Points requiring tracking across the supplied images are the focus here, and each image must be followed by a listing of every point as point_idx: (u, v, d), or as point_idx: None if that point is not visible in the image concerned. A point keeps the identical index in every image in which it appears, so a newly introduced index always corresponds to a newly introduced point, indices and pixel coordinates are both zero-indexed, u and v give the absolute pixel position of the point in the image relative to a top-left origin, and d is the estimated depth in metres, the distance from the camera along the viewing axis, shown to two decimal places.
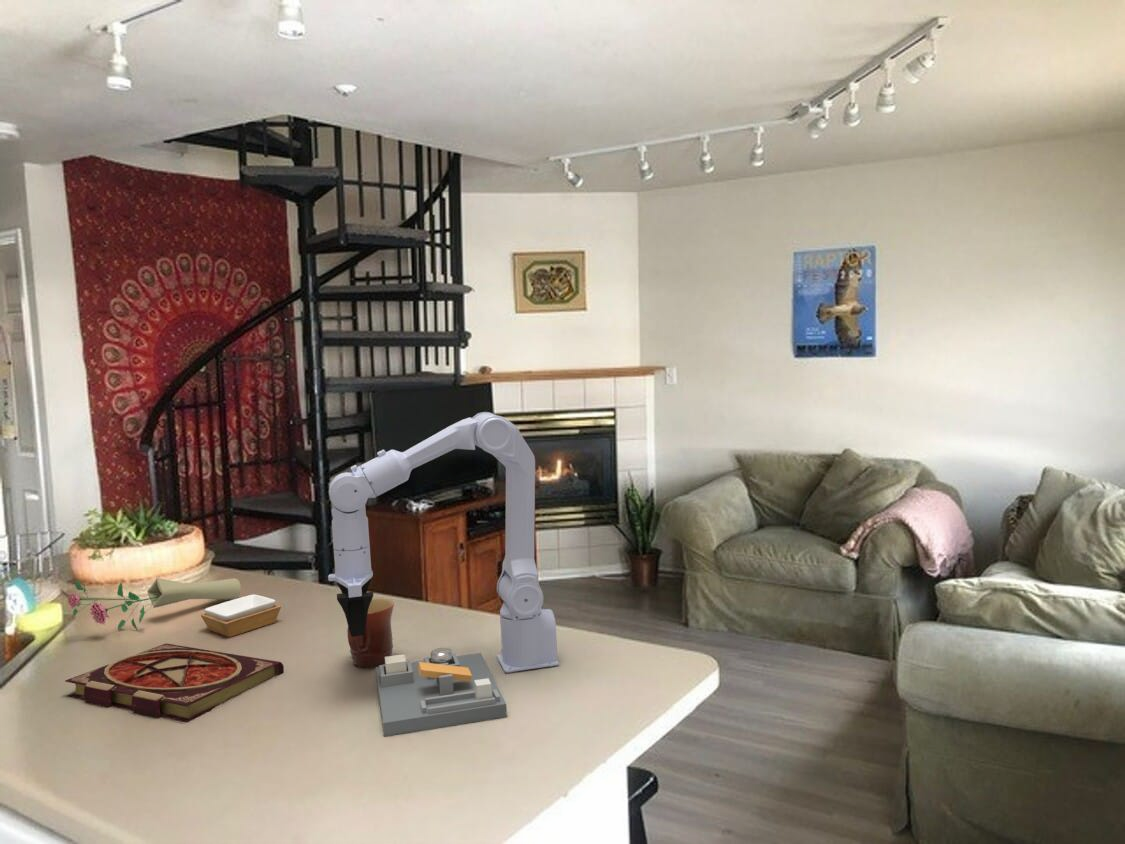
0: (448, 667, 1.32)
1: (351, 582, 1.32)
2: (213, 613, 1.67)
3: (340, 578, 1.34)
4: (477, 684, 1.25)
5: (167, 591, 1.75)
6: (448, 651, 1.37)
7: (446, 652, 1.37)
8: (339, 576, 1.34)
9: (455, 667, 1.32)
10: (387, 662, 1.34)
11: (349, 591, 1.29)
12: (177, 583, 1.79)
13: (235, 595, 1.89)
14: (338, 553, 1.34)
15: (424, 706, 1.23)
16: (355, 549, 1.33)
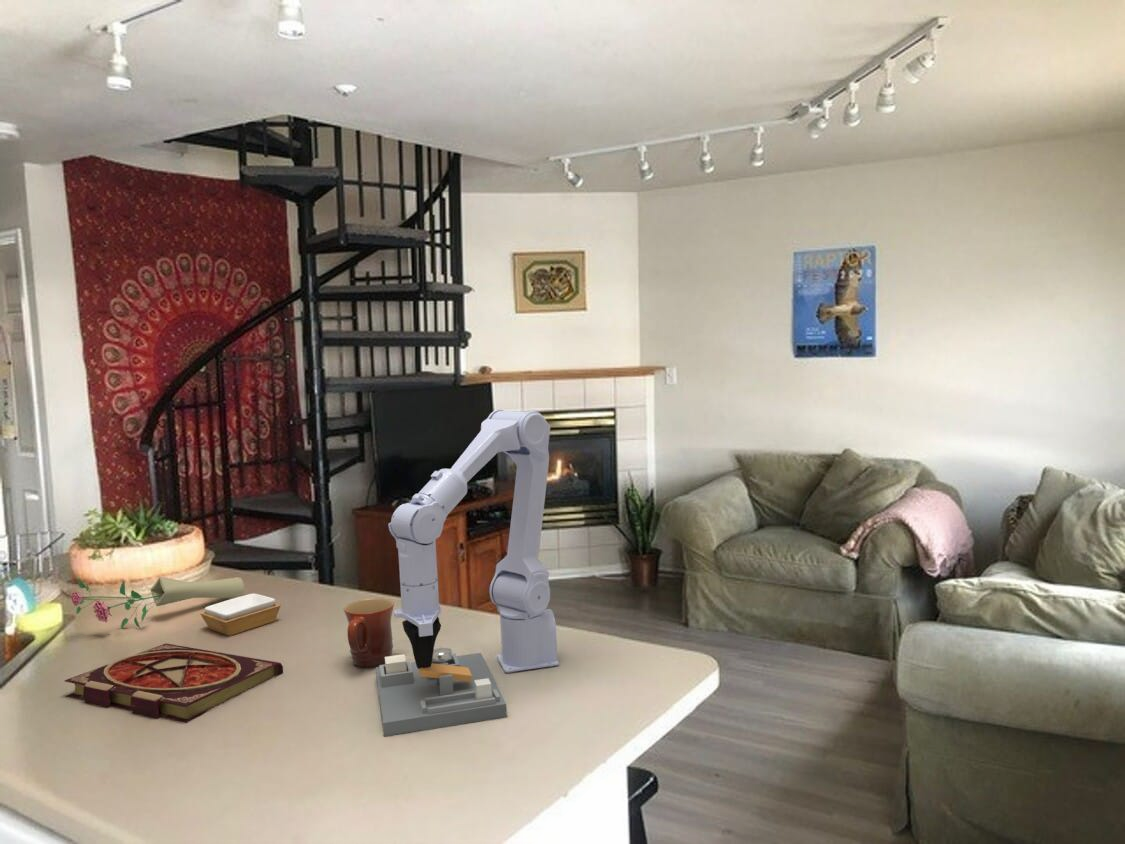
0: (448, 667, 1.32)
1: (420, 620, 1.24)
2: (213, 612, 1.67)
3: (408, 615, 1.26)
4: (477, 684, 1.25)
5: (170, 590, 1.76)
6: (448, 651, 1.37)
7: (446, 652, 1.37)
8: (406, 612, 1.27)
9: (455, 667, 1.32)
10: (387, 662, 1.34)
11: (420, 630, 1.22)
12: (180, 582, 1.80)
13: (238, 594, 1.90)
14: (406, 588, 1.26)
15: (424, 706, 1.23)
16: (424, 584, 1.26)
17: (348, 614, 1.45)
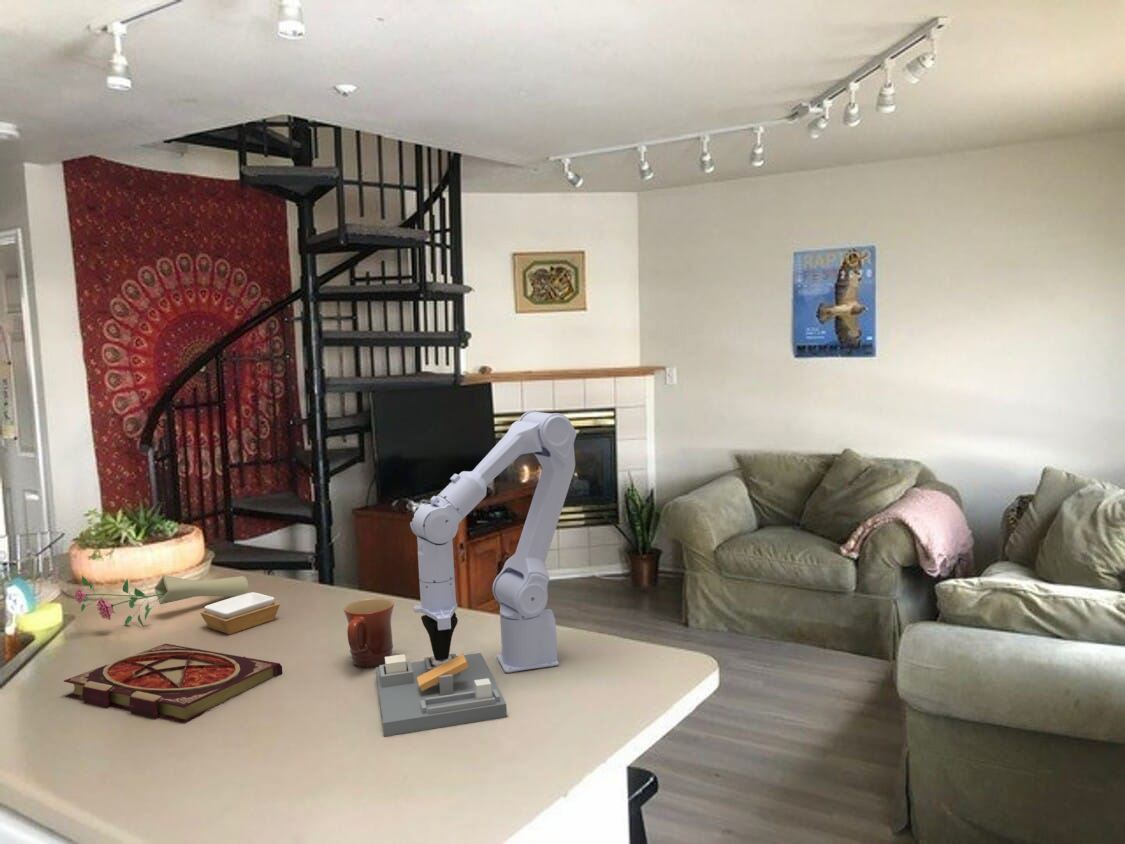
0: (444, 665, 1.32)
1: (439, 614, 1.32)
2: (213, 611, 1.68)
3: (427, 610, 1.34)
4: (477, 684, 1.25)
5: (173, 588, 1.77)
6: (449, 658, 1.38)
7: None
8: (425, 608, 1.35)
9: (450, 662, 1.32)
10: (387, 662, 1.34)
11: (439, 624, 1.30)
12: (184, 580, 1.81)
13: (242, 593, 1.91)
14: (425, 585, 1.34)
15: (424, 706, 1.23)
16: (442, 581, 1.34)
17: (348, 614, 1.45)
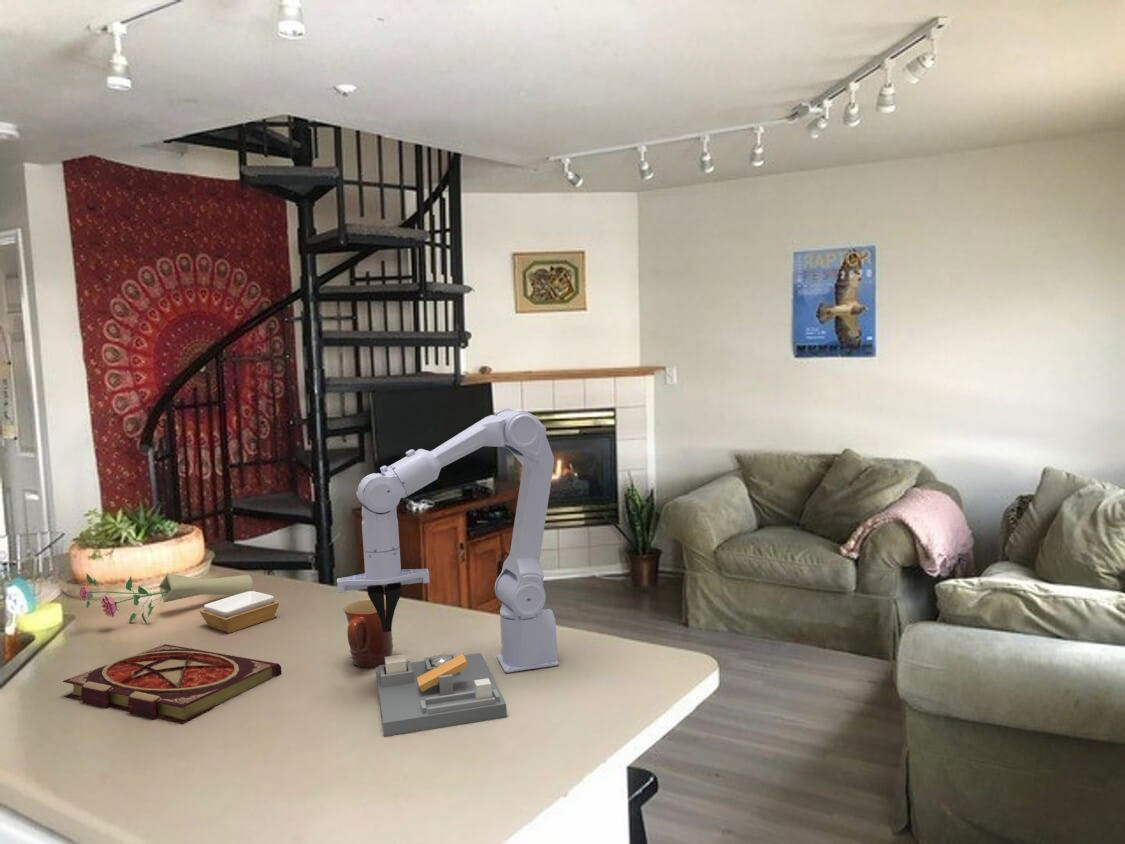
0: (444, 665, 1.32)
1: None
2: (212, 609, 1.69)
3: None
4: (477, 684, 1.25)
5: (177, 587, 1.78)
6: (449, 658, 1.38)
7: (446, 658, 1.37)
8: None
9: (450, 662, 1.32)
10: (387, 662, 1.34)
11: None
12: (188, 578, 1.82)
13: (247, 591, 1.92)
14: None
15: (424, 706, 1.23)
16: (363, 549, 1.33)
17: (348, 614, 1.45)
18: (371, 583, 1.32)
